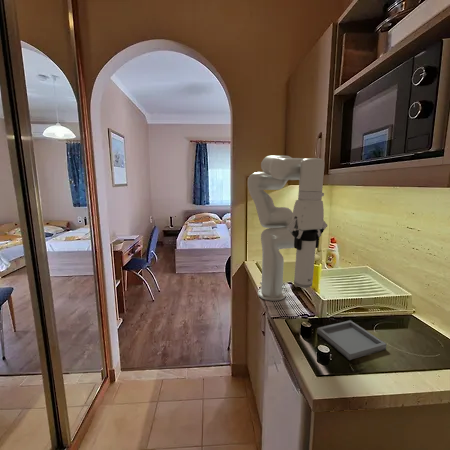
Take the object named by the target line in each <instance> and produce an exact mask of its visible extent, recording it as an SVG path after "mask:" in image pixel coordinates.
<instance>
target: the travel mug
mask: <svg viewBox="0 0 450 450" xmlns="http://www.w3.org/2000/svg"><path fill="white" fill-rule="evenodd" d="M316 233H318V230H305V231H303V233H302V235H301V239H302V246H301V250H298V249H296V251H295V252H296V253H295V265H294V266H295V267H294V277H293V278H294V280H293V283H294V285H295V286H297V287H299V288H303V289H306V288H311V287H312V286H313V280H314V269H315V259H316V257H315V255H316V249H317V248H316Z"/></svg>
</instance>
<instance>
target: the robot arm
mask: <svg viewBox="0 0 450 450" xmlns="http://www.w3.org/2000/svg"><path fill="white" fill-rule="evenodd" d="M260 168H261V170H262V171H257V172H256V171H255V172H253V173H252V174H250V175H249V176H248V177H247V178H248V179H247V189H248V193H249V195H250V197H251V199H252V201H253V202H254V205H255V208H256V210H255V211H256V214H257V217H258V221H259V224H260V226H261V227H262V228H264V229H263V231H262V232H261V234H260V242H261V249H262V250H261V251H262V252H261V253H262V257H261V258H262V259H261V260H262V262H261V281H260V283H259V284H260V286H261V288H259V289H258V291H257V295H258V297H259V298H261V299H263V300H266V301H269V302H270V301H271V302H278V301H282V300H283V299H285V298H286V292H285V290H283V287H284V285H283V284H284V283H283V282H284V281H283V280H284V279H283V278H284V264H285V263H284V262H285V261H284V259H285V258H284V256H283V255H282V253H281V252H280V250H284V249H296V250H297V249H298V250H301V246H302V239H301V235H302V233H303V231H305V230H318V233H316V248H315V249H319V243H320V237H321V236H322V234H323V233H324V231H325V230H326V228H327V227H328V223H326V221H325V220H324V215H325V212H324V209H325V208H324V201H323V200H322V199H323V197H324V196H325V193H324V192H323V188H324V185H323V184H324V174H325V173H324V172H325V160H324V159H323V158H319V157H316V158H315V157H309V158H303V157H301V158H300V157H292V156H289V155H267V156H265V157H264V158H263V159H262V161H261V163H260ZM288 181H298V195H297V196H298V197H297V198H298V199H296V200H295V202H294V206H293V210H292V209H291V208H289V207H284V206H283V207H282V206H281V207H280V206H278V207H277V206H276V205H275V204H274V201H273V198H272V197H271V195H270V194H269V193H267V192H266V191H271V190H272V191H275V190H276V191H279V190H282V189H283V188H284V187H285V186H286V184H287V182H288ZM265 228H266V229H265Z"/></svg>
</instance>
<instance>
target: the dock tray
mask: <svg viewBox="0 0 450 450" xmlns="http://www.w3.org/2000/svg"><path fill="white" fill-rule="evenodd" d="M316 329H317V330H316V333H317V335H318V336H320V337H321V338H322V339H323V340H325V341H326V342H327V343H328V344H329V345H330V346H332V347H333V348H334V349H335V350H336V351H337V352H339V353H340V354H341V355H343V356H344V357H345V358H346V359H347V360H349V361H351V360H354V359H359V358H361V357H365V356H369V355H372V354H375V353H378V352H382V351H385V350H387V343H386V342H384V341H383V340H381V339H379V338H378V337H377V336H375V335H374V334H372V333H371V332H369V331H368V330H366V329H365V328H363V327H362V326H360V325H359V324H357V323H355V322H353V320H352V319H349V320H346V321H343V322H338V323H333V324H329V325H324V326H319V327H317V328H316Z"/></svg>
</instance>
